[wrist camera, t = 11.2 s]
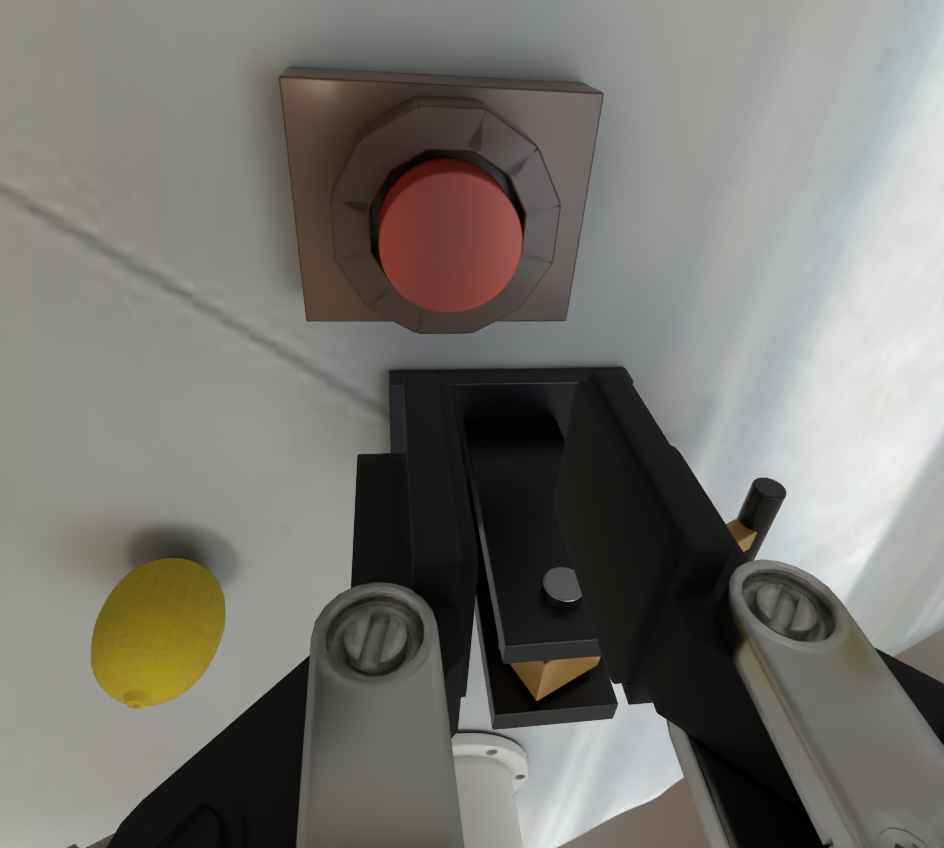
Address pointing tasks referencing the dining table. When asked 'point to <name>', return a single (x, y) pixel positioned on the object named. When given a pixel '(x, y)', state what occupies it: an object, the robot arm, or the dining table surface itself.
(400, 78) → the button block
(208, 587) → the lemon
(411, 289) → the button
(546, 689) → the lever
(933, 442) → the dining table surface
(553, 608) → the bracket
